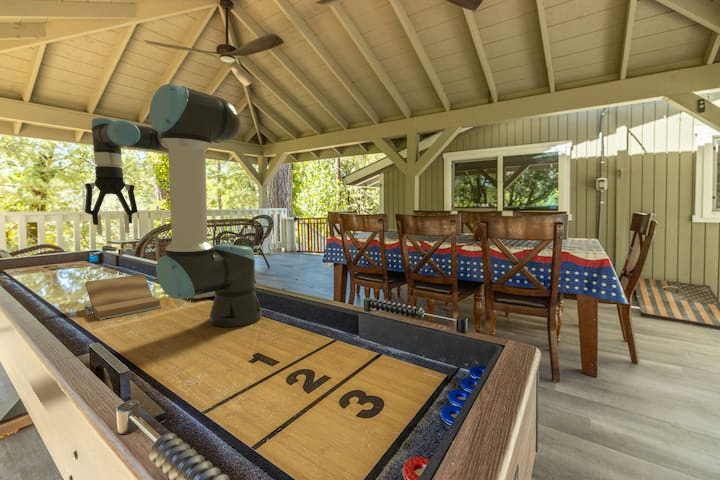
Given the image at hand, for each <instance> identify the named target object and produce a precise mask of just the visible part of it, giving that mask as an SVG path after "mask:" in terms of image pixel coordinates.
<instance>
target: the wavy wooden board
mask: <svg viewBox="0 0 720 480" xmlns="http://www.w3.org/2000/svg"><path fill="white" fill-rule="evenodd" d="M85 288H86V291H87V294H88V298H89V302H90V304H91V306H92V309H93V310H94V307H96V306H102V305H107V304H113V303H118V302H124V301H130V300H135V299H141V298H146V297H152V296H153V293H152V291H151V288H150V286H149V284H148V281H147V279H146V277H145V274H144V273H141V274H133V275H126V276H119V277H111V278H104V279H103V278H102V279H97V280H95V279H94V280H90V281H89V280H88V281H85ZM153 297H154V296H153Z"/></svg>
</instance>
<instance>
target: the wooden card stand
mask: <svg viewBox="0 0 720 480" xmlns="http://www.w3.org/2000/svg"><path fill="white" fill-rule="evenodd" d="M86 306H87V307H88V308H89V309H90V310H91V311H92V312H93V313H94V314H95V315H96V316H95V315H94V314H93V313H92V312H91V311H90V310H89V309H88V308H87V307H86ZM85 307H86V308H87V309H88V310H89V311H90V312H91V313H92V314H93V315H94V316H95V317H96V318H97V319H98V320H99V321H100V320H101V321H103V320H102V319H106V318H111V319H113V318H112V317H115V318H119V317H118V316H120V317H125V316H128V315H129V314H130V315H133V314H140V313H144V311H145V312H149V311H148V310H150V311H154V310H158V309H157V308H159V309H162V306H161V300H160V299H158V298H157V297H155V296H152V297H146V298H141V299H135V300H130V301H124V302H118V303H113V304H107V305H102V306H96V307H94V310H93V309H92V306H91V303H89V304H85ZM153 309H154V310H153ZM124 315H125V316H124ZM106 320H107V319H106Z"/></svg>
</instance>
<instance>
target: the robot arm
mask: <svg viewBox="0 0 720 480" xmlns="http://www.w3.org/2000/svg"><path fill="white" fill-rule="evenodd" d="M148 114H149V118H148V119H149V123H150V124H151V126H144V125H138V124H134V123H133V122H131V121H129V120H124V119H123V120H121V119H119V120H115V119H113V118H106V117H95V118H92V120H91V128H90V129H91V134H92V135H91V136H92V147H93V156H94V157H93V158H94V165H96V166H95V167H94V169H95V171H94V172H95V180H94V182H91V183H89V182H87V183H84V187H85V206H84V213H85V214H88V215H91V216H92V219H91V220H92V224H93V225H95V226H96V230H97V235H99V236H102V235H103V230H102V229H103V228H102V217H101V214H99V211H100V209H101V207H102V204H103V201H104V199H105V197H106V195H115V197H117V199H118V201H119V203H120V204H121V206H122V207H123V210H124V211H125V214H123V223H124V224H123V225H124V233H125V234H130V232H131V231H130V224H132V223H133V214H136V213H138V211H139V210H138V205H137V202H136V201H137V200H136V197H135V185H134V184H129V183H126V182H125V181H124V173H123V170H124V169H123V168H122V167H123V159H122V147H124V148H133V149H141V150H147V151H149V150H150V151H156V152H157V151H158V152H162V153H163V152H164V153H168V174H169V175H168V176H169V199H170V200H169V201H170V202H169V203H170V205H169V206H170V224H171V225H170V228H171V241H170V243H169V244H168V245H167V246H166V247H165V255H162V256H160V257H159V258H158V260H157V263H156V265H155V266H156V267H155V270H156V278H157V281H158V283H159V285H160V287H161V289H162V290H163V292H164V293H165V294H166V295H167V296H168V297H170V298H172V299H175V300H180V299H181V300H182V299H187V298H191V297H193V296H197V295H201V294H205V293H209V292H213V291H215V297H214V299H213V303H212V306H211V309H210V312H209V323H210V324H211V325H212V326H215V327H219V328H236V327H243V326H247V325H251V324H254V323H256V322H258V321H260V320H261V319H262V317H263V316H262V315H263V314H262V311H263V310H262V307H261V305H260V301H259V299H258V297H257V294H256V275H255V272H256V271H255V262H256V259H255V253H254V249H253V248H252V247H250V246H246V245H235V244H233V245H232V244H214V245H213V244H212V243H210V241H208V214H207V213H208V208H207V207H208V205H207V168H206V165H207V163H206V151H207V150H208V149H209V148H210V147H211V146H212V143H214V144H220V143H225V142H229V141H232V140H233V139H235V138H236V137H237V136H238V134H239V132H240V129H241V123H242V122H241V117H240V115H239V112H238V110H237V109H236V108H235V106H233V104H232V103H231V102H229V101H228V100H226V99H224V98H222V97H218V96H215V95H211V94H208V93H205V92H201V91H198V90H196V89H192V88H190V87H187V86H185V85H176V84H171V83H166V84H162V85H161V86H160V87H158V88H157V90H156V91H155V93H154V95H153V96H152V98H151V101H150V105H149V112H148ZM95 187H96V188H97V189H98V190H99V193H98V196H97V199H96V202H95V204H94V206H93V209H92V205H93V204H92V201H93V190H94V189H95ZM124 188H125V190H126V191H127V195H128V200H129V204H128V202H127V200H126V199H125V196H124V194H123V192H122V190H123V189H124ZM129 205H130V206H129Z"/></svg>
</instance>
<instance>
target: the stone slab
mask: <svg viewBox="0 0 720 480" xmlns="http://www.w3.org/2000/svg"><path fill="white" fill-rule="evenodd" d="M209 297H211V298H213V297H214V298H215V291H213V292H209V293H205V294H201V295H197V296H193V297H191V298H188V299H187V300H189V301H190V300H191V302H192V301H194V302H195V301H197V300H199V299H203V298H209Z"/></svg>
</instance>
